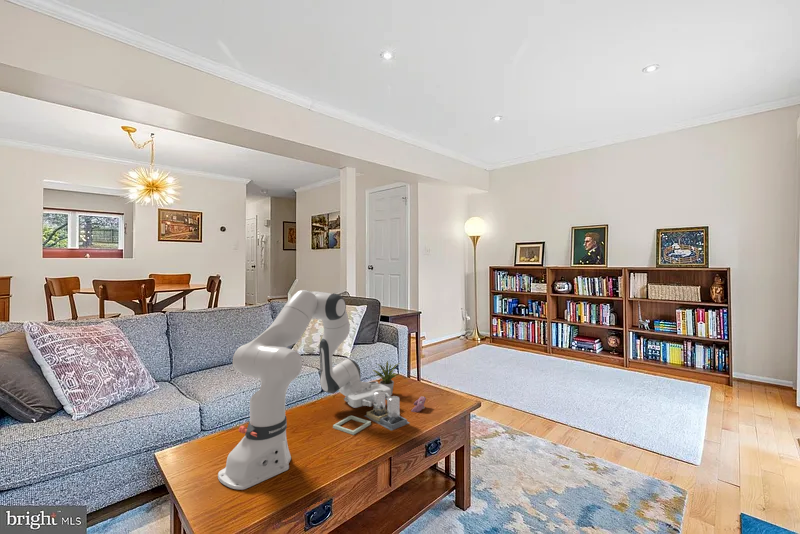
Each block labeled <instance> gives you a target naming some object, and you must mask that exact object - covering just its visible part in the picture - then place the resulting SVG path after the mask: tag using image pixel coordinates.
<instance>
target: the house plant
mask: <svg viewBox="0 0 800 534" xmlns="http://www.w3.org/2000/svg"><path fill="white" fill-rule="evenodd" d="M385 364H386V365H385V366H384V365H382V363H380V364H378V363H377V366H379V368H380V369H381V370H380V369H379V368H378V367H377V366H375V368H377V369H378V370H379V371H380V372H379V371H378V370H375V369H372V371H373V372H374V373H376V374H375V375H374V377H377V376H378V377H380V378H381V380H380V381H379V384H382V385H385V386H387V387H389V388H390V389H391V396H393V393H394V392H393V391H394V390H393V389H394V386H395V385H394V384H395V382H394V380H392V379H393V378H395V379H396V378H397V373H395V372H394V371H395V369H396V368H397V366H398V365H400V364H401V362H399V363H396V364H394V366H392V364H390V363H389V362H388V360H387V361H386V363H385Z"/></svg>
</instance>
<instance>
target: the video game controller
mask: <svg viewBox="0 0 800 534" xmlns="http://www.w3.org/2000/svg"><path fill="white" fill-rule="evenodd" d="M426 400H427V398H426V397H425V396H420V397H419V398H418V399H417V400H415V401H414V403H413V406H414V407H413V408H412V409H411V410H410V411H411V412H413V413H420V412H421V411H422V410H424V409H425V407H426V406H425V403H426Z"/></svg>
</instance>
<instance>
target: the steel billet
mask: <svg viewBox="0 0 800 534" xmlns="http://www.w3.org/2000/svg"><path fill="white" fill-rule="evenodd" d="M372 407H373V410H374V415H376V416H378V417H379V416H382V415H385V409H386V398H385V391H383V390H377V391H374V392H373V406H372Z"/></svg>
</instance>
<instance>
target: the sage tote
mask: <svg viewBox="0 0 800 534" xmlns="http://www.w3.org/2000/svg"><path fill="white" fill-rule="evenodd" d="M350 420H353V421H355V422H358V423H362V425H360V426H359V427H357V428H354V429H353V430H352V429H350V428H346V427H343V426H341V425H343V424H345V423H347V422H349V421H350ZM371 422H372V420H367V419H364V418H361V417H357V416H354V415H349V416H347V417H344V418H343V419H342V420H340V421H338V422H336V423H335V424H332V429H335V430H338V431H341V432H344V433H346V434H348V435H352V436H354V435H356V434H357V433H359V432H361V431H362V430H364V429H366V428H367V427H369V426H371V424H372V423H371Z"/></svg>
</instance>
